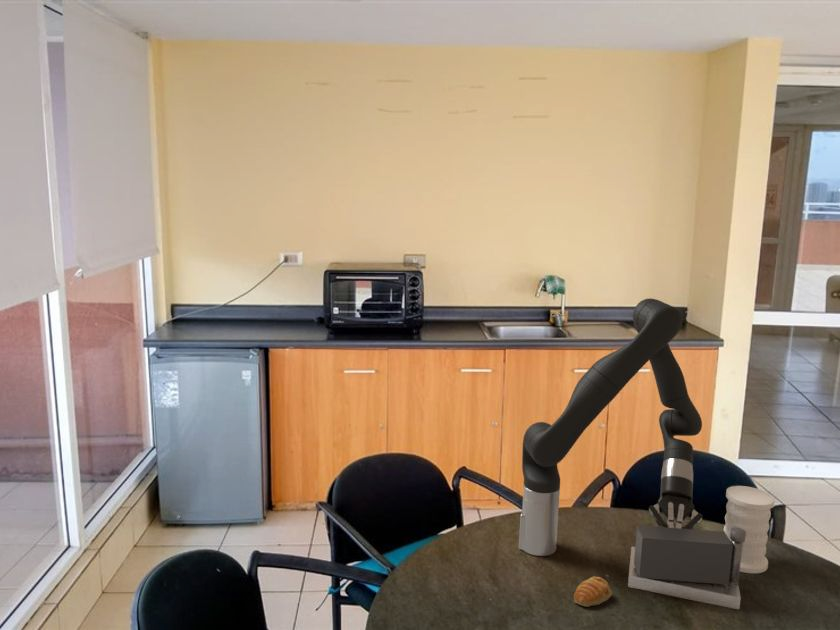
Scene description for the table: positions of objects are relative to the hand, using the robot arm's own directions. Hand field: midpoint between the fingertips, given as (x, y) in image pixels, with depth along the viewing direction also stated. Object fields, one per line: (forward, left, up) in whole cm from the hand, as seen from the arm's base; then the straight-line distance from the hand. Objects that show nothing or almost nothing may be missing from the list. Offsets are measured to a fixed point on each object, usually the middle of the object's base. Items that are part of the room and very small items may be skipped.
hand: (673, 548), depth 159 cm
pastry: (-17, -15, -8) cm, 24 cm away
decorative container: (+17, +15, -8) cm, 25 cm away
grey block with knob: (+3, -3, -4) cm, 6 cm away
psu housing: (+2, -1, -8) cm, 8 cm away
